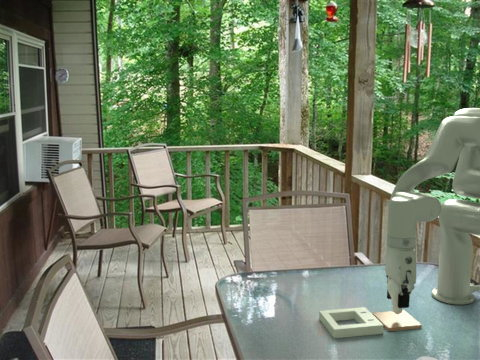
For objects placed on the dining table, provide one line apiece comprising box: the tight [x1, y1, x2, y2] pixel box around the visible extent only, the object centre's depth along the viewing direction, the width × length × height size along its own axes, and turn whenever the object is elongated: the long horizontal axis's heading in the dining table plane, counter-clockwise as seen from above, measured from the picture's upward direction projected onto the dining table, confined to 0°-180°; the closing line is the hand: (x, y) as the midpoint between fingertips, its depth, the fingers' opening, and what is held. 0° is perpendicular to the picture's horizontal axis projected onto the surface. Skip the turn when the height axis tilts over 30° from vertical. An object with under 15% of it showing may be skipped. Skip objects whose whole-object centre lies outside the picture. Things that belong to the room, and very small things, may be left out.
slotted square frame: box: [318, 306, 384, 339], centre depth 146 cm, size 14×12×3 cm
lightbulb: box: [386, 279, 406, 314], centre depth 147 cm, size 6×6×11 cm
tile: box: [371, 309, 423, 332], centre depth 148 cm, size 10×10×1 cm
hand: (397, 302), depth 148 cm, fingers closed on lightbulb, 5 cm apart
